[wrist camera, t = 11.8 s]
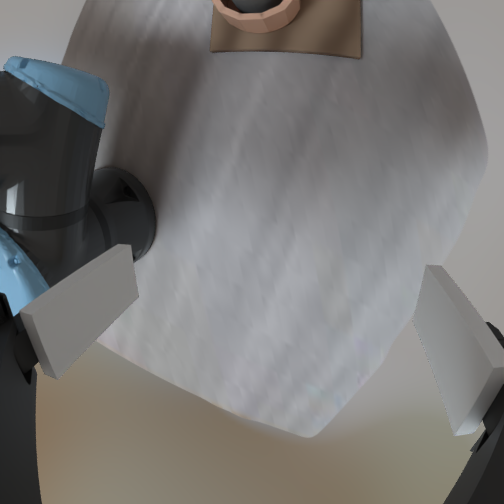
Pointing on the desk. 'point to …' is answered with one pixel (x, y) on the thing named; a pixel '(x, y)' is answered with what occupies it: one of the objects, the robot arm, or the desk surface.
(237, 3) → the bottle
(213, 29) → the board
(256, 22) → the terracotta bowl
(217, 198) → the desk surface
